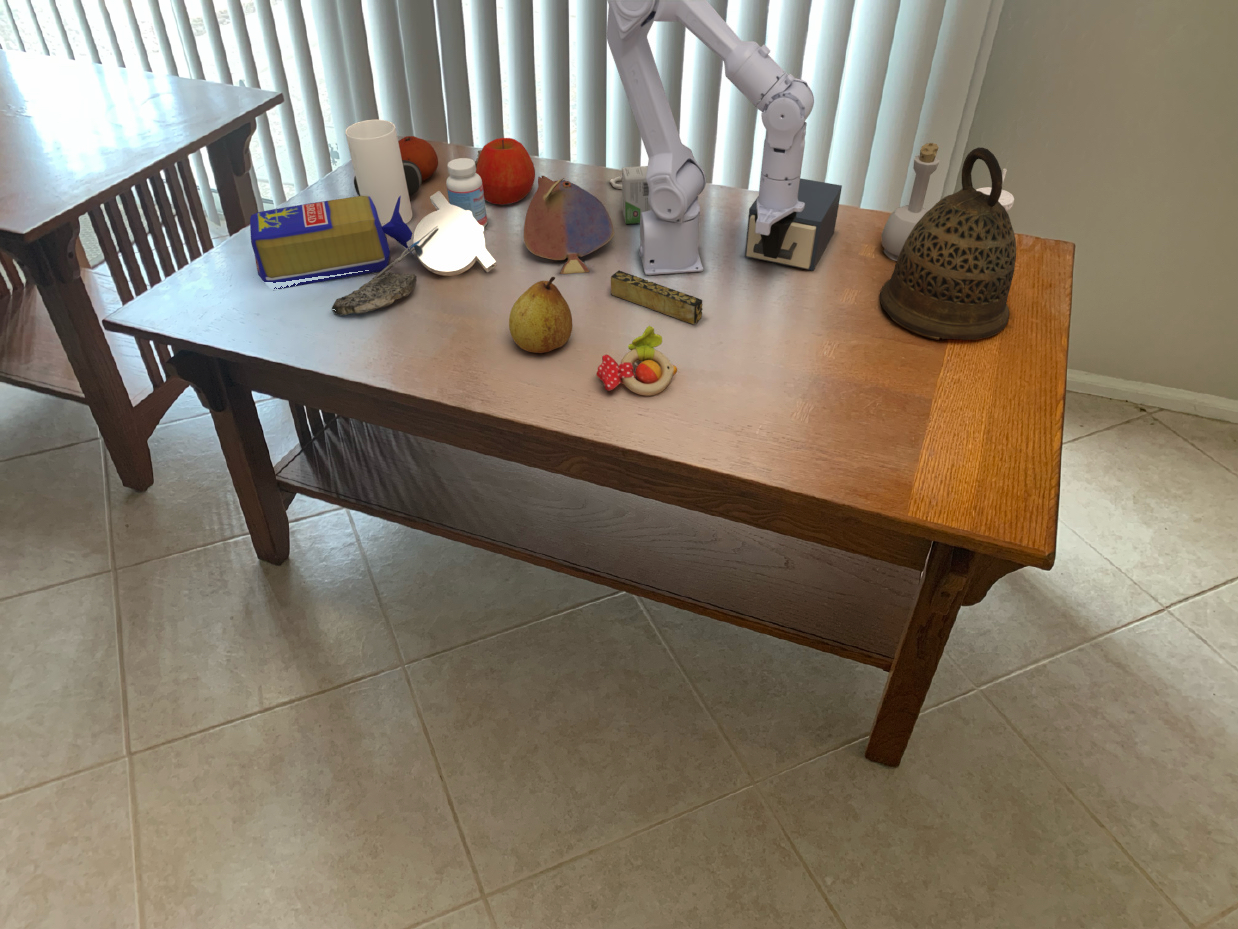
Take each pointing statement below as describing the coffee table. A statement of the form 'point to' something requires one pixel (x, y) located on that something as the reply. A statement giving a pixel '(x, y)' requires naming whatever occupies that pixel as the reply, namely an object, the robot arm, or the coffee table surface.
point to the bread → (324, 240)
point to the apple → (505, 171)
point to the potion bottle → (910, 204)
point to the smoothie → (1005, 197)
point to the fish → (566, 223)
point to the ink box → (634, 193)
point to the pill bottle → (466, 188)
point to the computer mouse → (406, 177)
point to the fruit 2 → (540, 318)
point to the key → (613, 181)
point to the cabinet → (813, 214)
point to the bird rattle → (639, 367)
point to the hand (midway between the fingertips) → (770, 256)
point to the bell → (956, 264)
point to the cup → (379, 167)
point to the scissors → (401, 256)
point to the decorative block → (656, 297)
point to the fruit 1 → (419, 154)
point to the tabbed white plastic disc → (451, 240)
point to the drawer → (786, 244)
